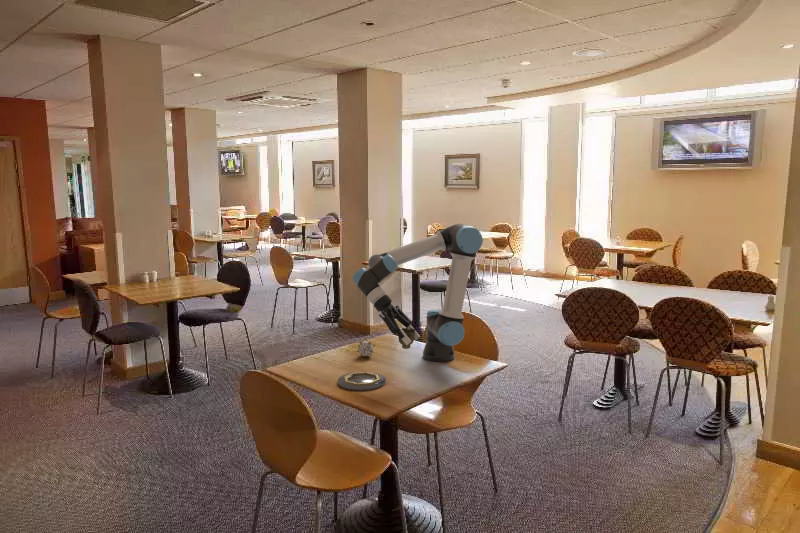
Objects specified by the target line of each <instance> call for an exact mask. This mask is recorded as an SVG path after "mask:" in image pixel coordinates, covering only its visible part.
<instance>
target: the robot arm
mask: <svg viewBox="0 0 800 533" xmlns="http://www.w3.org/2000/svg"><path fill="white" fill-rule="evenodd" d="M482 245H483V235H482V233H481V231H480V230H479V229H477V227H475V226H472V225H469V224H464V223H456V224H453V225H450V226H447V227H445V228H443V229H440V230H437V231H436V233H435V234H433V235H429V236H427V237H425V238H422V239H418V240H416V241H413V242H411V243H407V244H405V245H404V246H403V245H402V246H400V247H397V248H395V249H394V248H393V249H391V250H388V251H386V252H383V253H380V254H373V255H371V256H370V257H369V259H368V262H367V264H368V267H369V269H367V268H365V267H361V268H360V269H358V270H357V271H355V273H354V274H353V275H352V277H351V278H352V281H353V282H354V283H355V285H356V286H357V288H358V289H359V290H360V291H361V292H362V294H363V295H364V297H365V298H367V300H368V302H370V303H371V305H373V307H374V308H375V310H376V311H377V312H379V315H378V316H379V317H380V319H382V320H383V322H384V323H385V325H386V327H387V328H388V329H389V331H390V332H391V333H392V334H394V335H397V337H398V336H399V337H400V338H401V339H402V340H403V342H404V343H405V344H406V345H408V344H409V343H410V342H411V340H410V339H409V337H408V336H407V335H406V334H405V333H404V331H403V330H402V328H400V327H399V324H398V322H399V323H400V324H401V325H403V327H404V328H405V329H406V328H407V329H409V330H410V328H412V329H414V330H415V335H414V341H415V342H416V341H417V340H418V339H419V338H421V335H420V334H419V333H418V332H417V331H416V329H415V328H414V326H412V324H413V322H412V320H411V318H410V317H408V316H407V314H405V313H404V312H403V311H402V310H401V308H400V306H399V305H395V306H394V305H393V304H392V302H393V300H392V299H391V298H390V296H389V295H388V294H386V291H385V290H384V289H383V288H382V286H381V285H379V284H380V283H381V282H382V281H383V280H385V279H386V278H388V277H389V276H390V275H391V274H392V273H394V272H395V271H396V270H397V269H398V268H399V266H400V265H403V264H406V263H408V262H410V261H414V260H417V259H419V258H421V257H425V256H427V255H431V254H433V253H436V252H438V251H444V252H445V251H447V250H449V254H450V255H451V257H452V258H451V264H450V268H449V274H448V279H447V280H448V281H447V284H446V288H445V289H446V290H445V295H444V301H443V306H442V309H438V308H437V309H430V310H427V312H426V342H425V346H424V347H423V351H422V358H423V359H425V360H426V361H430V362H449V361H453V360H454V359H455V356H456V354H455V351H454V346H456V345H458V344H460V343H461V342H462V341H463V339H464V336H465V334H466V333H465V328H464V319H465V317H464V315H463V314H462V313H463V311H462V310H463V306H464V301H465V295H466V291H467V290H466V289H467V286H468V280H469V275H470V269H471V266H472V261H474V260H475V259H476V257H477V252H478V251H479V250H480V249H481V248H482ZM380 312H381V313H380ZM400 329H401V330H400Z"/></svg>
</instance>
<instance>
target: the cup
mask: <svg viewBox="0 0 800 533" xmlns="http://www.w3.org/2000/svg"><path fill="white" fill-rule="evenodd" d="M401 329H402V330H403V331H404V333H405V334H406V335H407V336H408V337H409V339H410V340H411V342H410V343H409V344H408V345H406V344H405V343H404V342H403V340H402V339H401V338H400V337H399V336H398V335H397V337H398V342H399V344H400V345H401V348H402V349H405V350H409V349H410V348H411V345H412V344H413V343H414V341H415V340H414V335H415V331H416V329H415V328H414V329H415V330H414V329H412V328H410V330H409V329H407V328H406V327H402V328H400V330H401Z"/></svg>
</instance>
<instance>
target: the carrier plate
mask: <svg viewBox="0 0 800 533" xmlns="http://www.w3.org/2000/svg"><path fill="white" fill-rule="evenodd" d="M386 380H387V378H386V377H385V375H383V374H380V373H378V372H372V371H355V372H349V373H348V372H347V373H346V374H343V375H341V376H340V377H339V378H337V384H338V387H340V388H342V389H345V390H348V391H352V392H353V391H354V392H355V391H356V392H367V391H373V390H378V389H380V388H383V387H384V386H385V385H386V383H387V381H386Z"/></svg>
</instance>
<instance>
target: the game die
mask: <svg viewBox="0 0 800 533" xmlns="http://www.w3.org/2000/svg"><path fill="white" fill-rule="evenodd" d="M357 346H358V349H357V350H356V353H358V354H359V353H360V356H363V357H364V359H366V357H368V356H371V357H372V353H374V347H375V345H373V344H372V342H371V341H368V339H367V338H366V339H365V340H364V341H362V342H361V341H359V345H358V344H357Z"/></svg>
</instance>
